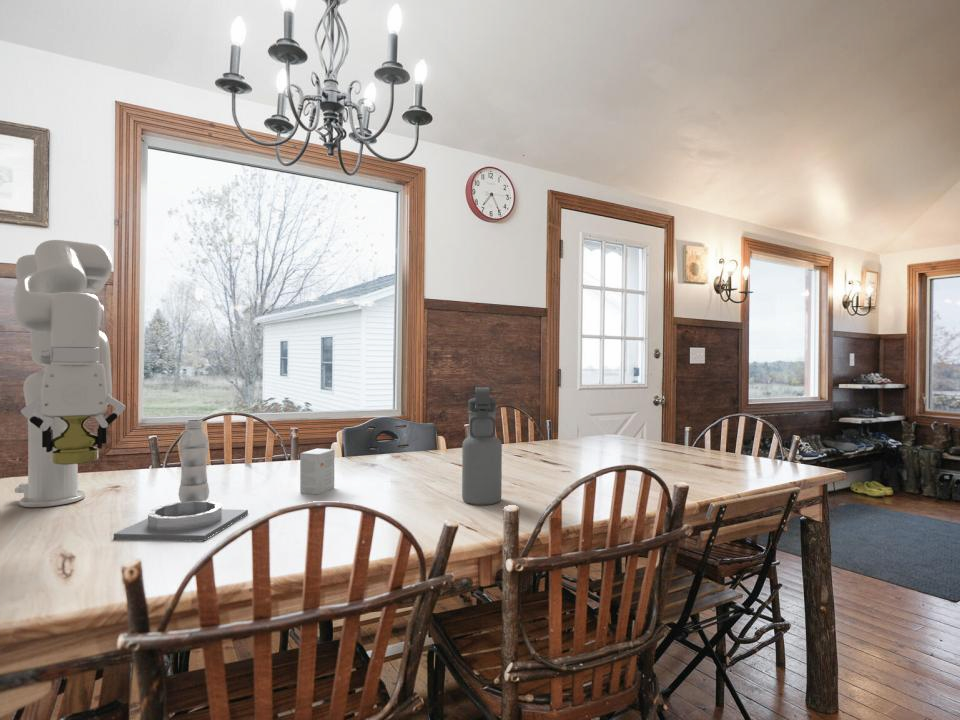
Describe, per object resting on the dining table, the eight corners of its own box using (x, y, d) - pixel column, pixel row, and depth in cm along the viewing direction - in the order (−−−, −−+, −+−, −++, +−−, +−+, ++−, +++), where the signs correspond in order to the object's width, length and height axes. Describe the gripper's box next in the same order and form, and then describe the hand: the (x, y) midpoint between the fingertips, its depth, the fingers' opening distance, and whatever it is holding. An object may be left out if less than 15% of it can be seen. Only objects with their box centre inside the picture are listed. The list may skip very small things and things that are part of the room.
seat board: (113, 539, 107) (113, 533, 107) (169, 512, 125) (169, 508, 125) (204, 540, 106) (204, 535, 106) (247, 514, 124) (247, 509, 124)
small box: (316, 486, 151) (317, 448, 151) (334, 487, 150) (335, 449, 150) (299, 493, 144) (299, 452, 144) (318, 494, 142) (318, 453, 142)
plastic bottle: (196, 508, 129) (197, 422, 129) (171, 506, 130) (171, 421, 130) (215, 501, 135) (215, 419, 135) (191, 499, 137) (191, 418, 137)
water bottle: (502, 506, 132) (503, 389, 132) (461, 506, 132) (462, 389, 132) (500, 495, 142) (500, 386, 142) (462, 495, 142) (462, 386, 142)
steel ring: (133, 530, 109) (133, 517, 109) (173, 511, 122) (173, 500, 122) (199, 531, 108) (199, 518, 108) (232, 512, 122) (232, 501, 122)
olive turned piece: (103, 456, 111) (103, 407, 111) (92, 463, 104) (92, 410, 104) (59, 458, 108) (59, 408, 108) (44, 466, 101) (45, 411, 101)
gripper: (13, 357, 98) (13, 456, 98) (129, 357, 108) (128, 448, 108) (20, 356, 105) (20, 450, 105) (129, 357, 114) (128, 443, 114)
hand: (75, 448), depth 106 cm, fingers closed on olive turned piece, 7 cm apart
